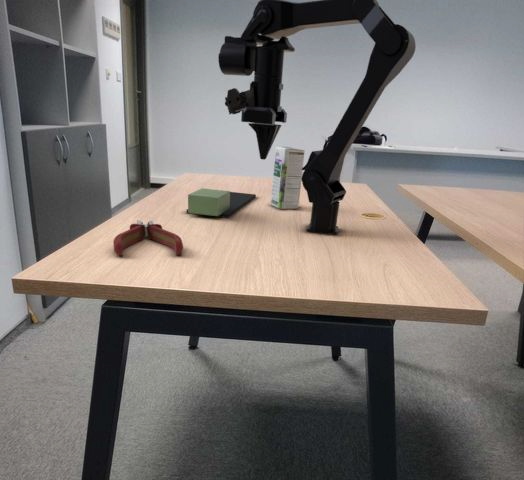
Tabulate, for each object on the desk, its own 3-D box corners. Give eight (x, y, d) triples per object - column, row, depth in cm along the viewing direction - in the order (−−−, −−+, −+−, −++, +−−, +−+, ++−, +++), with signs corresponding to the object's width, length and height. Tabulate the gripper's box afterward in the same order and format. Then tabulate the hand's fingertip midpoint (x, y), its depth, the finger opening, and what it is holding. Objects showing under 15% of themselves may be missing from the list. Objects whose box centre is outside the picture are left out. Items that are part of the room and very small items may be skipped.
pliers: (173, 227, 96) (173, 214, 95) (184, 256, 79) (184, 241, 78) (115, 227, 94) (114, 214, 92) (113, 257, 76) (112, 241, 75)
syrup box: (269, 205, 125) (274, 146, 119) (289, 204, 128) (294, 146, 121) (279, 209, 121) (284, 148, 114) (299, 209, 123) (305, 149, 116)
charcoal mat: (227, 217, 108) (228, 214, 108) (186, 213, 110) (186, 209, 109) (255, 197, 134) (255, 194, 134) (221, 193, 136) (222, 190, 136)
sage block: (218, 197, 103) (230, 191, 112) (187, 194, 105) (202, 188, 113) (217, 216, 105) (229, 208, 114) (188, 212, 106) (201, 205, 115)
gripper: (240, 77, 105) (237, 152, 112) (216, 71, 89) (215, 159, 96) (290, 80, 103) (283, 157, 111) (274, 74, 87) (268, 164, 94)
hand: (263, 159), depth 103 cm, fingers closed
